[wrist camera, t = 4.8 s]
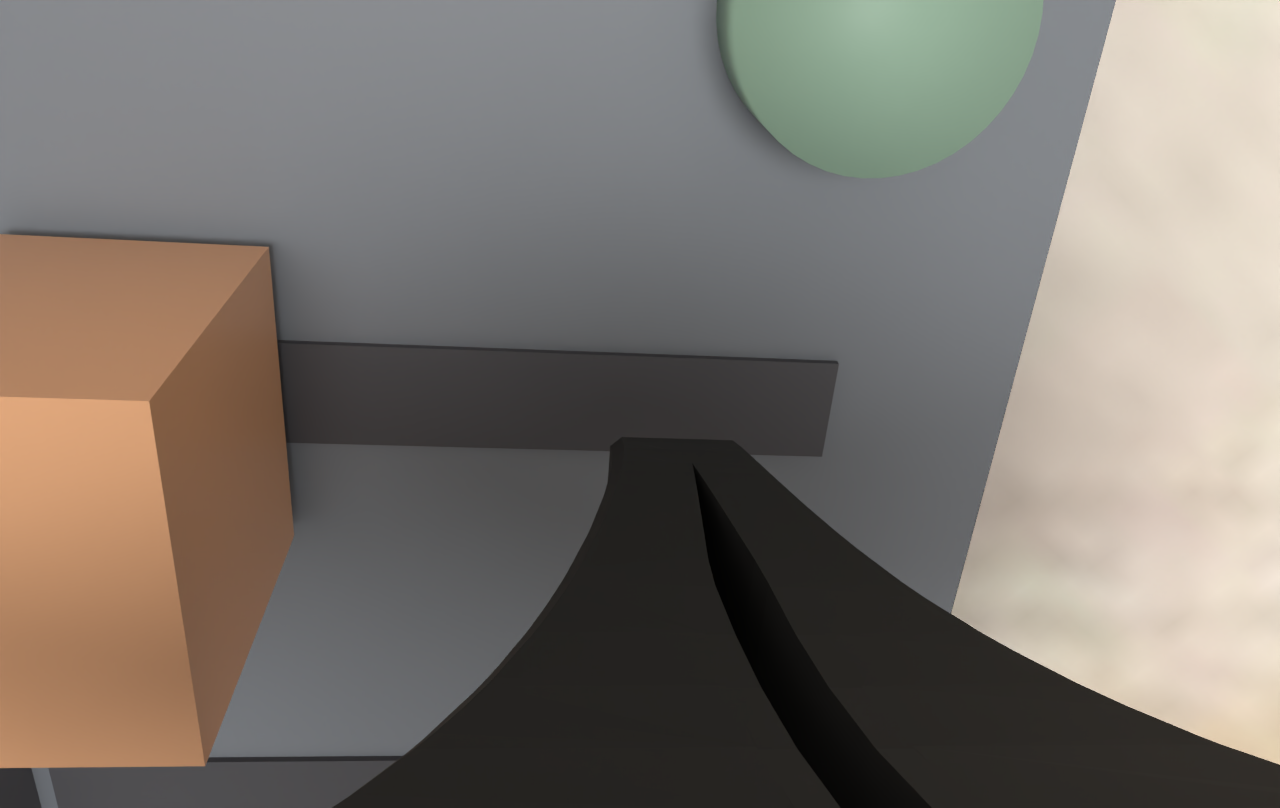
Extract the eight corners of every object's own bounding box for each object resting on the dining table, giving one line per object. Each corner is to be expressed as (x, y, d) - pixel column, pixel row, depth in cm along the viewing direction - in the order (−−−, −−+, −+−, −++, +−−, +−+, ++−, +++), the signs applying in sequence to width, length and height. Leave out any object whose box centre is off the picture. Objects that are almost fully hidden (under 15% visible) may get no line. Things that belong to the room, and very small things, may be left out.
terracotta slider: (294, 535, 13) (205, 766, 10) (55, 531, 13) (-126, 768, 10) (268, 246, 12) (150, 401, 8) (-8, 233, 11) (-260, 388, 8)
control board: (846, 851, 20) (897, 1011, 17) (-276, 873, 18) (-433, 1062, 15) (1103, -209, 12) (1281, -241, 9) (-886, -420, 10) (-1486, -555, 7)
